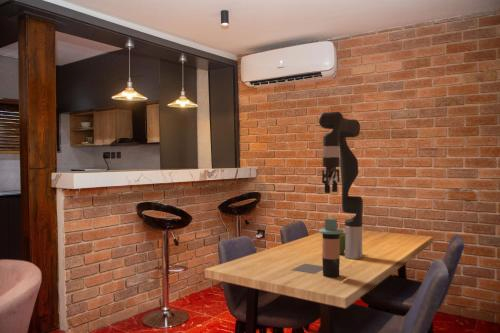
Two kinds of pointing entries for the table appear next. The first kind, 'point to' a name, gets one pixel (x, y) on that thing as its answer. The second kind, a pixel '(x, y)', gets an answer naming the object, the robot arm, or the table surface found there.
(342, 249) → the plant pot
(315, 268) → the mat
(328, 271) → the travel mug
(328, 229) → the lid
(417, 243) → the table surface
